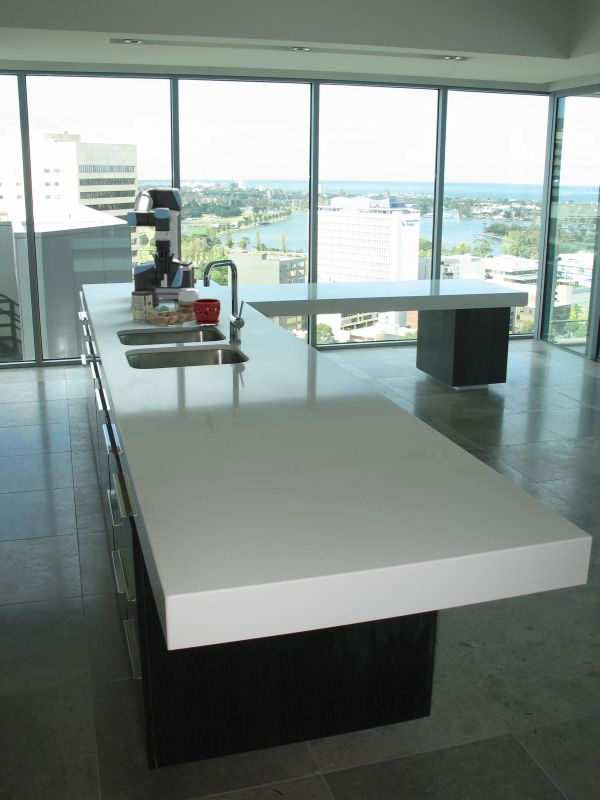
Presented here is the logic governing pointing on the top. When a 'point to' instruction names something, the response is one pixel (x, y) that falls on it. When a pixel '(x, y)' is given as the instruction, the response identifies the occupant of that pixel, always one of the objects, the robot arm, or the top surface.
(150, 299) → the coffee can
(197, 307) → the plant pot
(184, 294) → the canister
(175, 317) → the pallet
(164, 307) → the button
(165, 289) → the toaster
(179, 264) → the robot arm
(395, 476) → the top surface
